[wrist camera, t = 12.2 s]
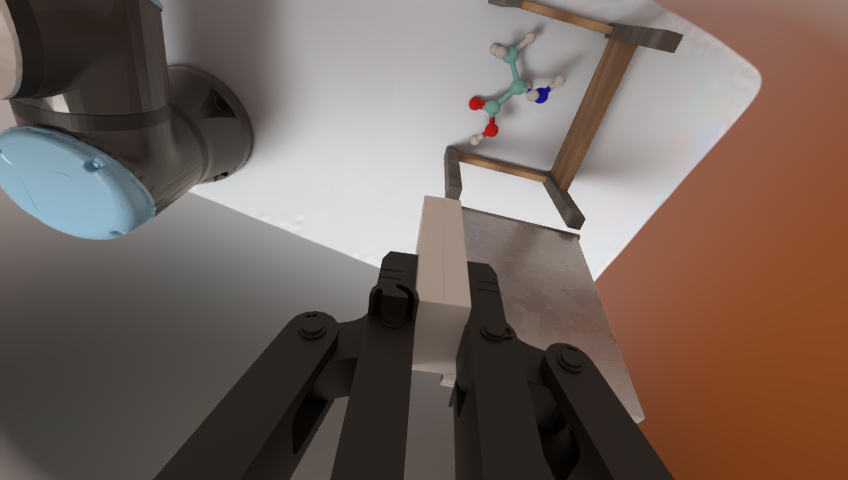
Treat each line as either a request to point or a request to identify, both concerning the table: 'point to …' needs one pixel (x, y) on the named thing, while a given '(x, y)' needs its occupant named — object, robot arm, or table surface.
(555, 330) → the lid
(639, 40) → the housing
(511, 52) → the molecular model
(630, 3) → the table surface
